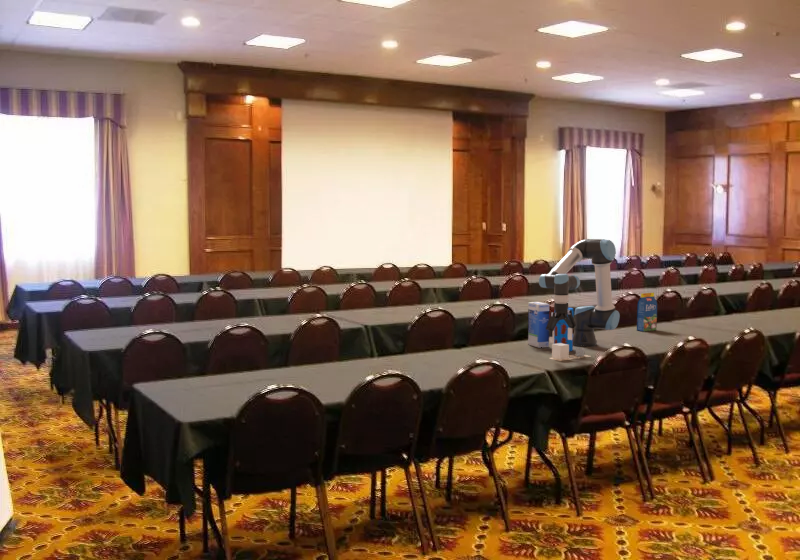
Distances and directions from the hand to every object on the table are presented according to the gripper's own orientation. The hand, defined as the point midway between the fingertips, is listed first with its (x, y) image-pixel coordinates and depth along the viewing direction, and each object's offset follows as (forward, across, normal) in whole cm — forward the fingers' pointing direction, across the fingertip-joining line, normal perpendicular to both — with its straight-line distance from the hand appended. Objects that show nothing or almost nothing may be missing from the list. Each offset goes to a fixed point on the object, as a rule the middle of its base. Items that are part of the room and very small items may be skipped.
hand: (561, 341), depth 467 cm
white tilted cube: (+9, +1, 0) cm, 9 cm away
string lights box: (+11, -20, -40) cm, 46 cm away
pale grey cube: (+10, -13, +1) cm, 17 cm away
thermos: (+11, -19, -18) cm, 29 cm away
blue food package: (+14, -120, -43) cm, 128 cm away
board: (+10, -6, +1) cm, 12 cm away
